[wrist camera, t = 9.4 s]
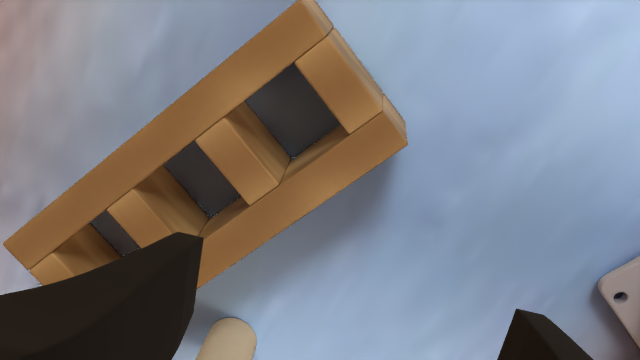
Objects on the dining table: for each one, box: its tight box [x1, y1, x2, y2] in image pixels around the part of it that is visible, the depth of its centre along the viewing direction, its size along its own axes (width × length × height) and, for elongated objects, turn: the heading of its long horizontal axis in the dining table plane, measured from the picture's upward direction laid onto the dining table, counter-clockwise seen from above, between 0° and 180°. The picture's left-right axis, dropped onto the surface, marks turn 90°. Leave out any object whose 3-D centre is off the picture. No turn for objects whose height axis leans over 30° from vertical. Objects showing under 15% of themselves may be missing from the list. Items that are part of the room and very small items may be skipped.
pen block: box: [3, 0, 408, 289], centre depth 22 cm, size 6×15×3 cm, turn 128°
